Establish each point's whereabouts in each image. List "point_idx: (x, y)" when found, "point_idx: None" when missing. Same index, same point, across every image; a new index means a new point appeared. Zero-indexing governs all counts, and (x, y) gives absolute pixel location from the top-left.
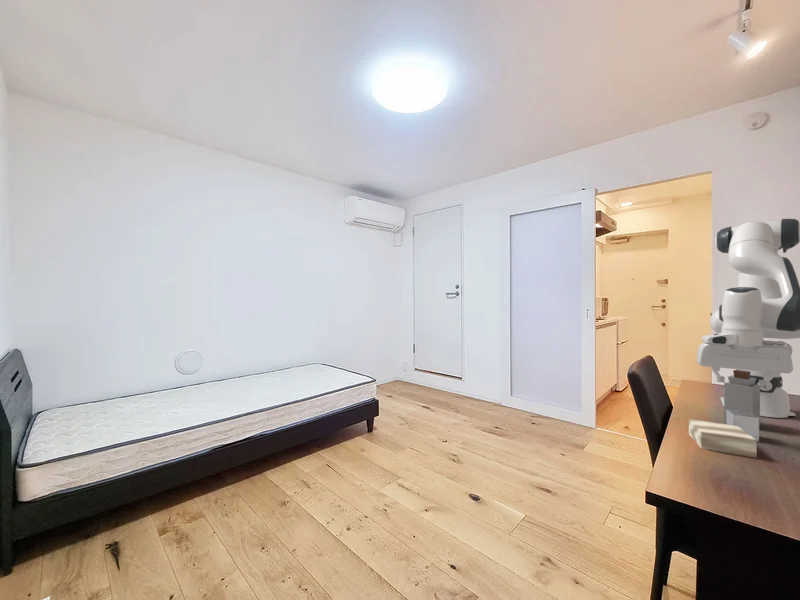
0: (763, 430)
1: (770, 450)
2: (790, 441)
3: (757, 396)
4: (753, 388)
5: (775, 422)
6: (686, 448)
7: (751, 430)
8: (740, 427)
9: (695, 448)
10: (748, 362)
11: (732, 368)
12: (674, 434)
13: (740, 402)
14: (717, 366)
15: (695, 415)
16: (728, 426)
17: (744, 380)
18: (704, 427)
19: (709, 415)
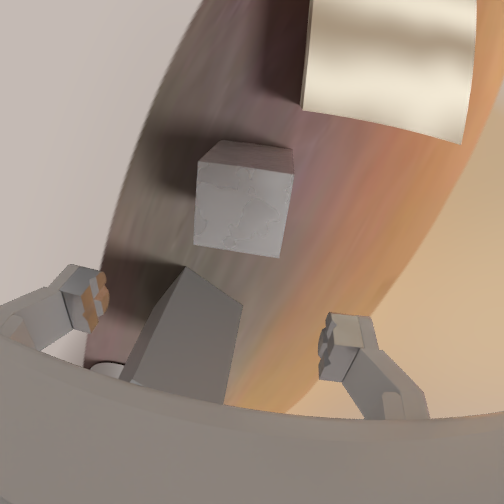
0: (160, 265)
1: (228, 58)
2: (127, 188)
3: (127, 367)
4: (130, 380)
5: (115, 337)
6: (484, 5)
7: (235, 150)
8: (269, 156)
9: None
10: (88, 466)
11: (283, 414)
12: (477, 116)
13: (189, 342)
14: (429, 424)
15: (302, 339)
16: (348, 87)
17: None
18: (450, 47)
19: (257, 350)
